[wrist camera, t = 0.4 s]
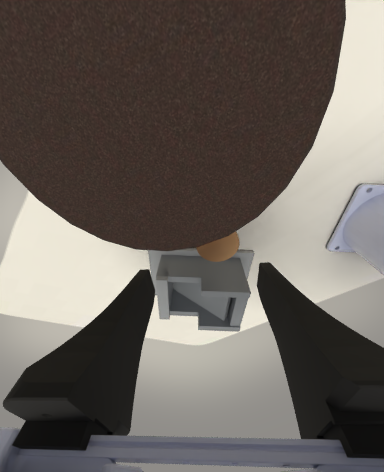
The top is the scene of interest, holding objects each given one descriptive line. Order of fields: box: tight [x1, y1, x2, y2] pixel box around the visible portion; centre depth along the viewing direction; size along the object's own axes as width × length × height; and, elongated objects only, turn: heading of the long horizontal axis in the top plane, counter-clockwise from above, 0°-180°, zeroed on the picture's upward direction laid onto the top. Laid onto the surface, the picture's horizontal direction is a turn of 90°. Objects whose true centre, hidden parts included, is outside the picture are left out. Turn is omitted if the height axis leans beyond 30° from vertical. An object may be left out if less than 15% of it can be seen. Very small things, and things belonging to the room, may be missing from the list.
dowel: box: [196, 231, 239, 262], centre depth 18 cm, size 4×4×6 cm
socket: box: [148, 248, 254, 331], centre depth 23 cm, size 13×8×6 cm, turn 88°
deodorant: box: [0, 0, 346, 251], centre depth 9 cm, size 6×6×15 cm
